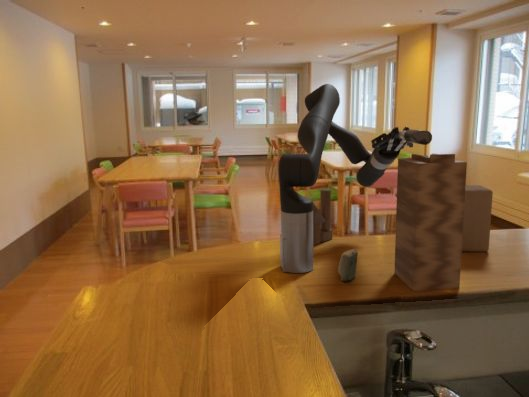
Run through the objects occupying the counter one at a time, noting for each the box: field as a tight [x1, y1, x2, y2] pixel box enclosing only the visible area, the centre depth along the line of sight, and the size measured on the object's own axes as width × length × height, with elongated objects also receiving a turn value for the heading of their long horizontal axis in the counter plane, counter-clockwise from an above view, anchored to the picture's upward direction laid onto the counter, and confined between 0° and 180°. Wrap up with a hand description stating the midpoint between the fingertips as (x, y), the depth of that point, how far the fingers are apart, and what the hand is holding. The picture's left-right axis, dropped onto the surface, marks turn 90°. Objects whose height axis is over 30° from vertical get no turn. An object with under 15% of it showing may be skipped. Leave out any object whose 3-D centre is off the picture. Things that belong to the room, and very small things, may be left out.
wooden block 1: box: [313, 188, 333, 246], centre depth 158 cm, size 4×11×18 cm, turn 137°
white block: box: [337, 248, 359, 284], centre depth 122 cm, size 6×5×8 cm
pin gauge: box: [396, 128, 433, 146], centre depth 127 cm, size 4×21×4 cm, turn 4°
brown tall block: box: [394, 153, 468, 292], centre depth 117 cm, size 12×13×34 cm
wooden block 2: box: [462, 185, 493, 253], centre depth 146 cm, size 10×10×20 cm
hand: (402, 129), depth 133 cm, fingers closed on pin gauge, 2 cm apart
